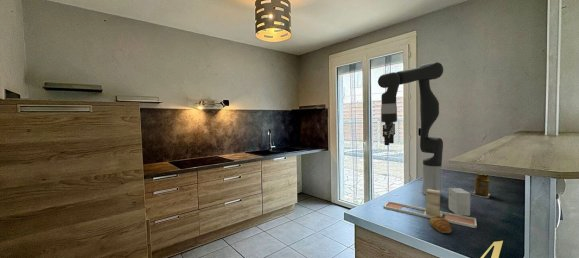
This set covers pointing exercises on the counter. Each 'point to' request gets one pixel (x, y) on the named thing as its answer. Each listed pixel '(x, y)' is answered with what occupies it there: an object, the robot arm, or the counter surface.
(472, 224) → the pads
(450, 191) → the small box
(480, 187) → the condiment
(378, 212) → the counter surface
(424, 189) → the robot arm
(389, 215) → the counter surface
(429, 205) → the beech block
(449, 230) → the pastry
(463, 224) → the rail channel
